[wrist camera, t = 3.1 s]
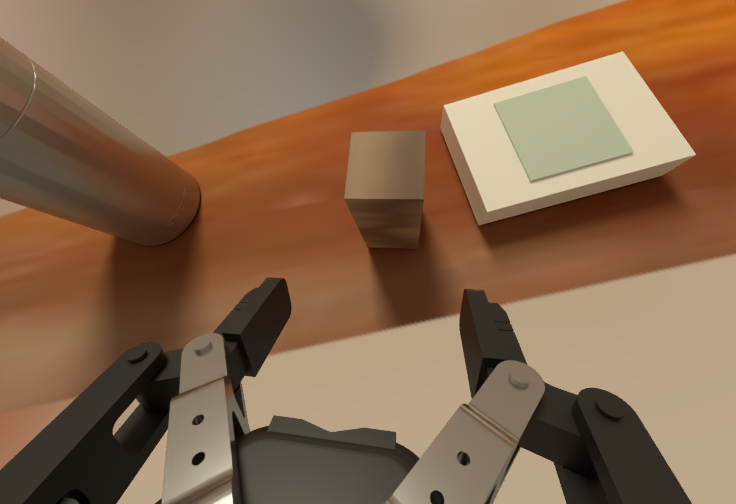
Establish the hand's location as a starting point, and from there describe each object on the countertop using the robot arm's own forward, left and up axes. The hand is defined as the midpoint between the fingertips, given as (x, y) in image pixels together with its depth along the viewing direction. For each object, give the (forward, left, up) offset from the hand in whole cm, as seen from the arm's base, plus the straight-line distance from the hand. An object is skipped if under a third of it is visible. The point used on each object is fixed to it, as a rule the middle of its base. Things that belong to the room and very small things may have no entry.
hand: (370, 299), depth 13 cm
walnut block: (-2, +8, -12) cm, 15 cm away
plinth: (+9, +19, -12) cm, 24 cm away
